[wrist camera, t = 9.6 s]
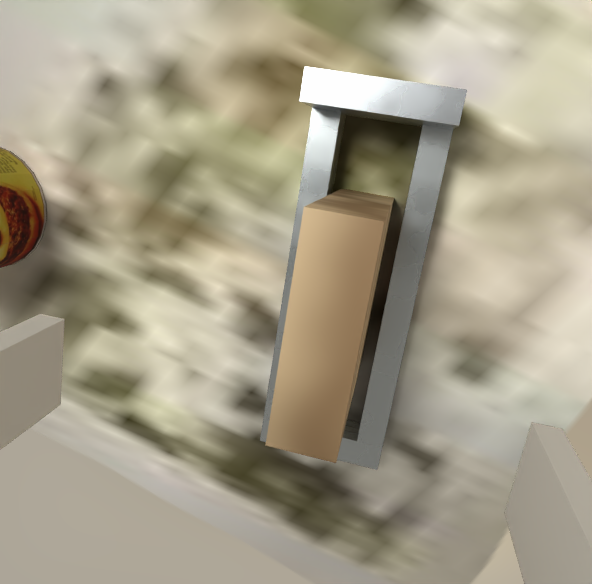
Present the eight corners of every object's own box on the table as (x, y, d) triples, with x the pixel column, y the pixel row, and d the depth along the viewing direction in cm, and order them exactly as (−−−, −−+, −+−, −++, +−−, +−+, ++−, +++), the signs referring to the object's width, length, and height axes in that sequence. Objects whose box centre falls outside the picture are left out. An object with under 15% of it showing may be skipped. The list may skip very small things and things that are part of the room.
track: (269, 422, 37) (243, 472, 31) (324, 82, 31) (304, 66, 25) (379, 449, 36) (373, 506, 30) (456, 102, 30) (467, 89, 24)
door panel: (313, 350, 35) (265, 445, 23) (342, 188, 32) (303, 206, 21) (361, 361, 34) (336, 462, 23) (394, 197, 32) (384, 221, 20)
